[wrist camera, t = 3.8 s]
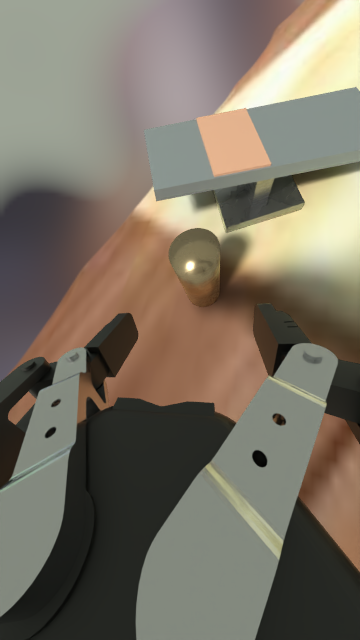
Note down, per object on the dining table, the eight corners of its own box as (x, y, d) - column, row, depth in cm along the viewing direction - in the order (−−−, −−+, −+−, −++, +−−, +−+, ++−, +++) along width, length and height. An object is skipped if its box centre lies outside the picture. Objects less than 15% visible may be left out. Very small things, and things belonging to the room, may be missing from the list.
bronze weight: (215, 273, 22) (213, 221, 14) (223, 302, 21) (225, 265, 13) (185, 281, 23) (165, 237, 15) (190, 310, 22) (172, 280, 14)
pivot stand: (272, 149, 25) (283, 104, 20) (301, 209, 22) (321, 171, 17) (208, 174, 27) (205, 138, 22) (225, 233, 23) (227, 204, 19)
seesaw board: (346, 102, 20) (358, 84, 19) (386, 156, 18) (402, 139, 16) (146, 142, 21) (143, 127, 20) (156, 201, 18) (153, 188, 17)
